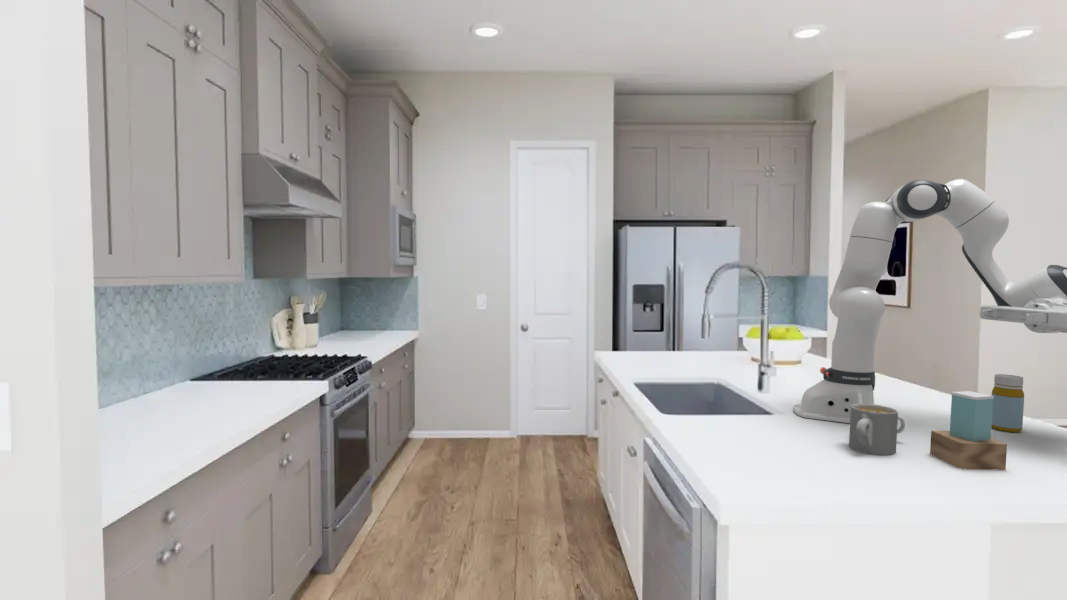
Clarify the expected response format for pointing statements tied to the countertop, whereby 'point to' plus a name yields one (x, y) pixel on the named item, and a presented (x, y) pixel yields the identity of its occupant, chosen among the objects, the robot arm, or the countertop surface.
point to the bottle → (1008, 403)
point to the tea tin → (971, 415)
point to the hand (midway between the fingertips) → (1004, 315)
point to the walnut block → (968, 451)
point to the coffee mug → (873, 429)
